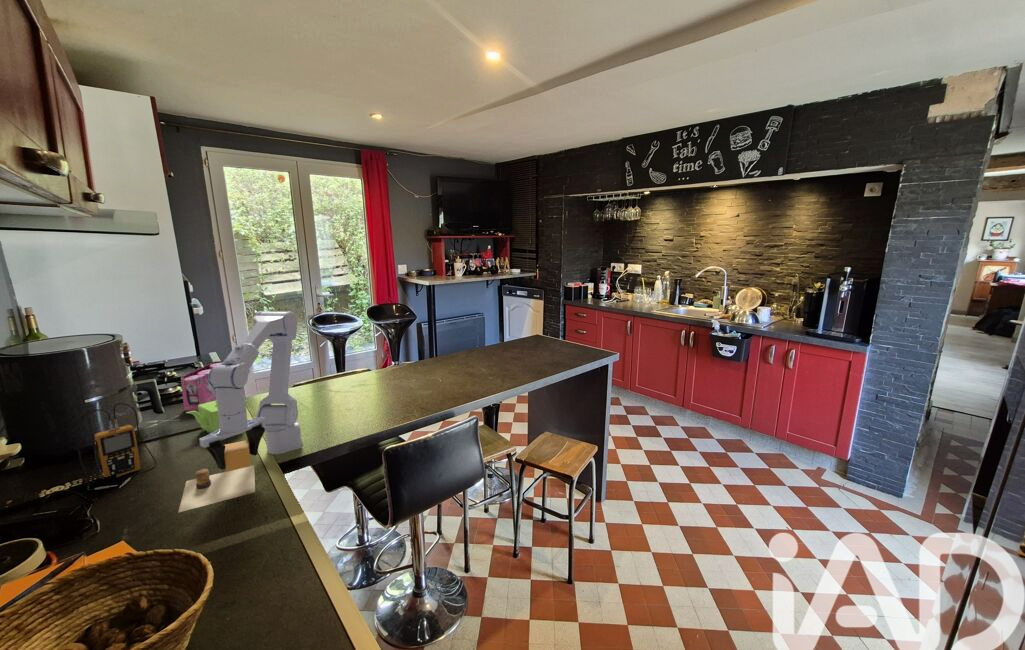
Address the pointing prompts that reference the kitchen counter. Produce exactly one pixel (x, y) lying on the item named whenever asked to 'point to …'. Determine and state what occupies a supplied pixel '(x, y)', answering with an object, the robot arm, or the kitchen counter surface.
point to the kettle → (208, 416)
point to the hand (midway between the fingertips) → (238, 461)
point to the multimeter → (116, 450)
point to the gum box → (197, 387)
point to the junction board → (217, 487)
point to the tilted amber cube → (237, 455)
